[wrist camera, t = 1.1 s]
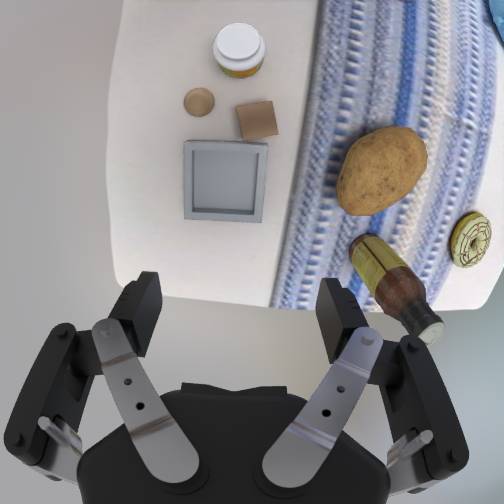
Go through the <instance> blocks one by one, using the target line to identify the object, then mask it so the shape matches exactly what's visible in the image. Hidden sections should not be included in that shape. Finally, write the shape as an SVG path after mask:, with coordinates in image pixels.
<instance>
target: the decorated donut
mask: <svg viewBox="0 0 504 504" xmlns="http://www.w3.org/2000/svg"><path fill="white" fill-rule="evenodd" d="M490 239H491V224H490V221H488V219H487V218H486V217H484V216H483V215H482V214H480V213H475V214H471V215H468V216H466V217H464V218H463V219H462V220H461V221H460V222H459V223H458V225H457V226H456V228H455V230H454V232H453V235H452V238H451V253H452V256H453V262H454V264H455V265H456V266H459V267H462V268H468V267H472V266H474V265H475V264H477V263H478V262H480V261H481V259H482V257H483V256H484V254H485V253H486V250H487V249H488V247H489V244H490Z"/></svg>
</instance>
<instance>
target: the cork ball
mask: <svg viewBox="0 0 504 504" xmlns="http://www.w3.org/2000/svg"><path fill="white" fill-rule="evenodd" d="M213 105H214V97H213V95H212V94H211V92H209V91H208V90H206V89H204V88H196V89H193V90H191V91H190V92H188V94H187V95H186V96H185V99H184V107H185V109H186V111H187V112H188V113H189V114H191V115H193V116H203V115H206V114H207V113H209V112H210V111H211V110H212V108H213Z"/></svg>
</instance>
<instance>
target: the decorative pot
mask: <svg viewBox="0 0 504 504" xmlns="http://www.w3.org/2000/svg"><path fill="white" fill-rule="evenodd" d="M489 9H490V11H491V13H492V16H493V21H494V22H495V24H496V27H497V29H498V31H499V33H500V35H501V38H502V41H503V43H504V0H489Z"/></svg>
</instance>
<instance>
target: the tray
mask: <svg viewBox="0 0 504 504" xmlns="http://www.w3.org/2000/svg"><path fill="white" fill-rule="evenodd" d="M267 154H268V144H267V143H254V142H237V141H208V140H188V141H186V142H184V219H192V220H213V221H233V222H250V223H261V222H262V211H263V200H264V189H265V177H266V166H267Z"/></svg>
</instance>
